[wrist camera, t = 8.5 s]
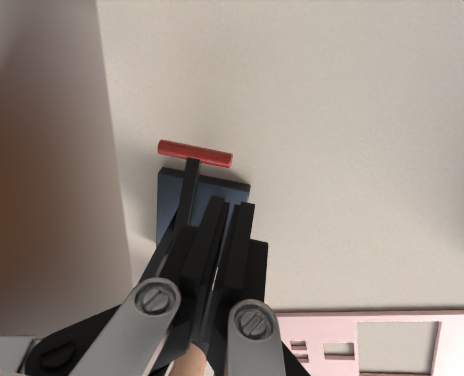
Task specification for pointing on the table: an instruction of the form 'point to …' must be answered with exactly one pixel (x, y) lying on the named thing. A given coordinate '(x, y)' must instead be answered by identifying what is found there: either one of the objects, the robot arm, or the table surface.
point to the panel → (345, 331)
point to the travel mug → (193, 354)
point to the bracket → (168, 209)
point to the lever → (191, 174)
